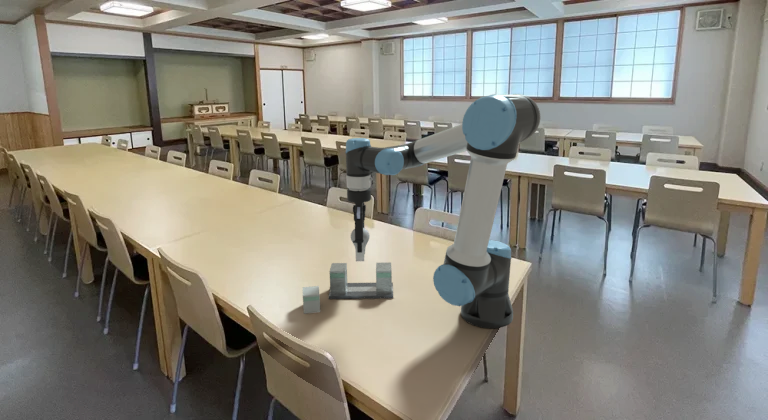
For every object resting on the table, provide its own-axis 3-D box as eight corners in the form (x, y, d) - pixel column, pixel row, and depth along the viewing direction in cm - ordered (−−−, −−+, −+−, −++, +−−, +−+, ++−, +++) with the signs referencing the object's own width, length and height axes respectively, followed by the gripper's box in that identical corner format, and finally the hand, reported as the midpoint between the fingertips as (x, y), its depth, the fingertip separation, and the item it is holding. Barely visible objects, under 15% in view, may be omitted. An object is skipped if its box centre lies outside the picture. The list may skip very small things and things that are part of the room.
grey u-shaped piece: (393, 298, 144) (393, 272, 142) (328, 299, 144) (327, 273, 142) (392, 285, 154) (392, 260, 151) (331, 285, 154) (330, 261, 151)
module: (320, 312, 136) (319, 294, 134) (303, 314, 135) (302, 296, 133) (319, 303, 142) (318, 285, 140) (303, 304, 141) (302, 287, 139)
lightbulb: (369, 255, 149) (369, 224, 146) (369, 262, 143) (369, 230, 140) (351, 256, 149) (350, 224, 146) (350, 263, 143) (349, 230, 140)
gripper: (370, 195, 130) (371, 268, 137) (371, 181, 148) (372, 247, 155) (344, 195, 130) (346, 268, 137) (349, 182, 148) (351, 247, 155)
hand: (360, 257), depth 146 cm, fingers closed on lightbulb, 6 cm apart
